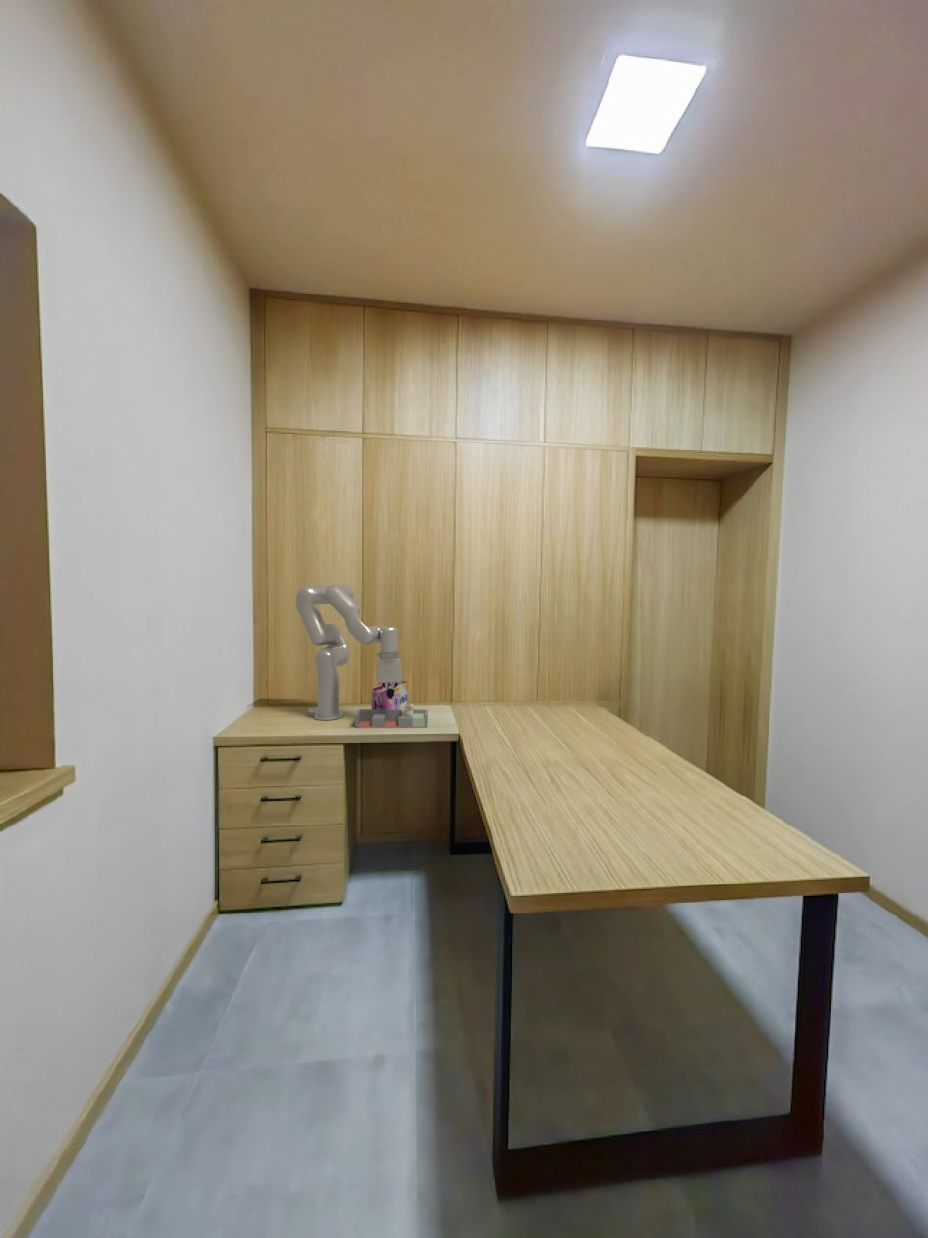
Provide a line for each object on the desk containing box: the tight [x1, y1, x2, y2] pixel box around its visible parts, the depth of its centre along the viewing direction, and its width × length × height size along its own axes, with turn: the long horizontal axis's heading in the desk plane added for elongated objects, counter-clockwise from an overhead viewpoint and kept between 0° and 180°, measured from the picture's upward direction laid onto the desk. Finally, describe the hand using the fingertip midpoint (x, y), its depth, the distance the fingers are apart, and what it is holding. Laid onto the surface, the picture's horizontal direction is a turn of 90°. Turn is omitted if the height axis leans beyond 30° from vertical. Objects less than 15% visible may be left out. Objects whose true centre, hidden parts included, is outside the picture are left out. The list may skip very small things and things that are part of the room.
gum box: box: [371, 680, 409, 709], centre depth 227 cm, size 24×8×14 cm, turn 162°
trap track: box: [354, 708, 429, 729], centre depth 210 cm, size 30×9×6 cm, turn 92°
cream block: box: [402, 703, 414, 717], centre depth 210 cm, size 4×4×4 cm
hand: (390, 698), depth 209 cm, fingers closed
